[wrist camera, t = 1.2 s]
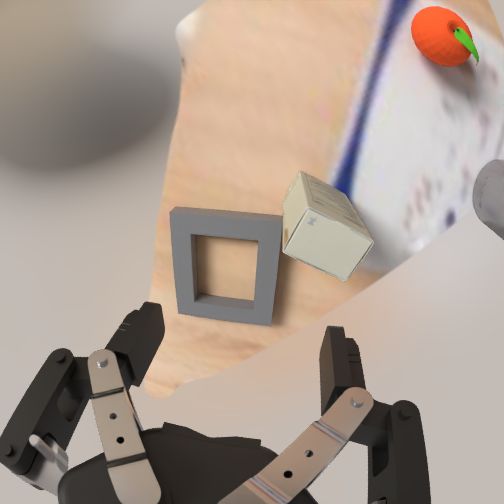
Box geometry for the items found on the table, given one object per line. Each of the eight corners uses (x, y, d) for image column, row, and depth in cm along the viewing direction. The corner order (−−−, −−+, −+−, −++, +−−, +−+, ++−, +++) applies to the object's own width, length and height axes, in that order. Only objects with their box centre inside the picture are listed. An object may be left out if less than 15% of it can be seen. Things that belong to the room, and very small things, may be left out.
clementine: (468, 50, 21) (500, 44, 15) (444, 86, 24) (477, 85, 18) (417, 4, 20) (443, -14, 13) (391, 39, 23) (415, 25, 17)
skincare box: (281, 202, 33) (276, 251, 23) (299, 168, 31) (303, 203, 21) (330, 226, 34) (346, 285, 23) (349, 195, 32) (376, 242, 21)
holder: (283, 216, 34) (282, 222, 32) (271, 317, 41) (270, 326, 39) (175, 206, 35) (169, 212, 34) (182, 305, 42) (178, 313, 41)
